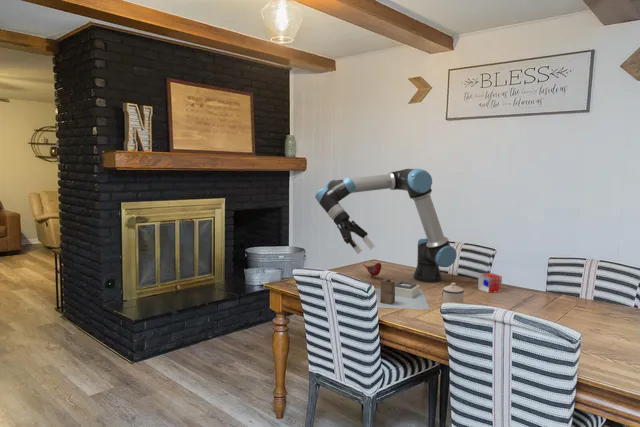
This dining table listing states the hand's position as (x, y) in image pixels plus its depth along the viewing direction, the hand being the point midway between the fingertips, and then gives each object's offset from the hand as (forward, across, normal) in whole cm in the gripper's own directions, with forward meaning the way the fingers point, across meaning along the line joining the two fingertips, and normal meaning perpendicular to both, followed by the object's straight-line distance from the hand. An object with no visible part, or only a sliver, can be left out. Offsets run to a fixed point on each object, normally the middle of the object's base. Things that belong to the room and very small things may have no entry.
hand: (366, 250), depth 218 cm
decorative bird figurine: (+6, -42, -28) cm, 51 cm away
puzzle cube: (+49, -51, +16) cm, 73 cm away
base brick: (+26, -18, -8) cm, 32 cm away
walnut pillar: (+24, 0, -9) cm, 26 cm away
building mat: (+26, -10, -8) cm, 29 cm away
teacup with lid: (+43, -10, +9) cm, 45 cm away
